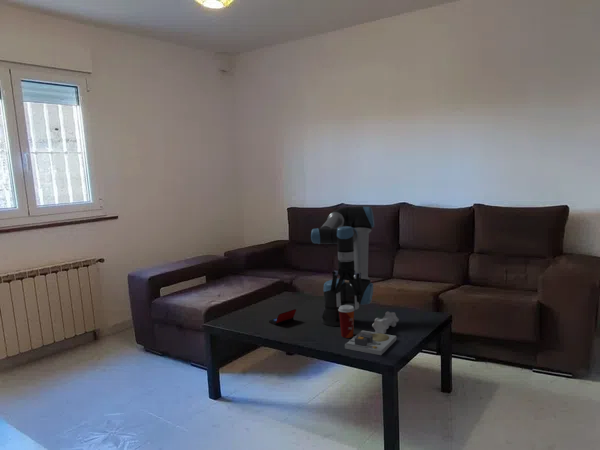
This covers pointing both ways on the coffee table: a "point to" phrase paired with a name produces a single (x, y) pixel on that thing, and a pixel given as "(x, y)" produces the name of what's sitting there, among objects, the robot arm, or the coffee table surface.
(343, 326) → the coffee cup
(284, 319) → the handheld game console
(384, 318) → the bone shaped toy
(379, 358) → the coffee table surface
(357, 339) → the tagged breaker
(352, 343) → the panel
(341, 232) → the robot arm
